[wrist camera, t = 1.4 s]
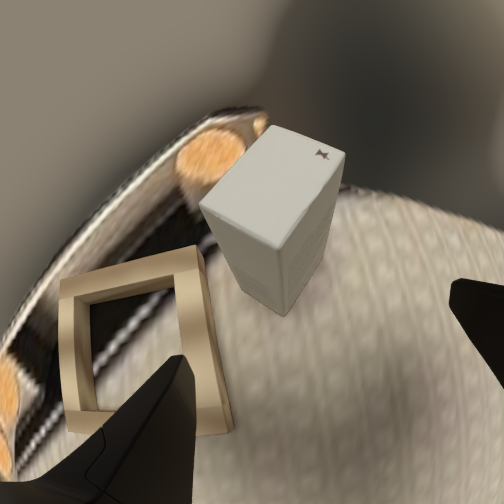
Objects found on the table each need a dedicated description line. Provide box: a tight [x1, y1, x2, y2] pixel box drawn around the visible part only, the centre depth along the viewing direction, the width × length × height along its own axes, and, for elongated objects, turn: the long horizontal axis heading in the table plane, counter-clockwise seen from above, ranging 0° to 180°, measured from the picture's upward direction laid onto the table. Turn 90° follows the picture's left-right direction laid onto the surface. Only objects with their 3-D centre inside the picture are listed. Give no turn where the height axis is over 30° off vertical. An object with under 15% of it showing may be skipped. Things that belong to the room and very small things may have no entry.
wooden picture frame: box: [58, 245, 234, 436], centre depth 19 cm, size 14×14×2 cm
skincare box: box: [199, 125, 345, 317], centre depth 17 cm, size 6×4×12 cm
